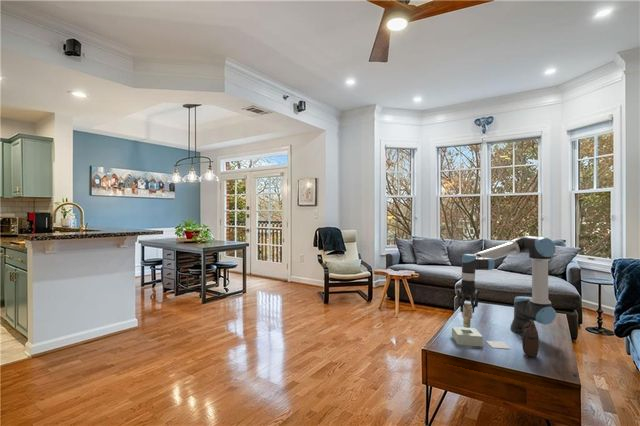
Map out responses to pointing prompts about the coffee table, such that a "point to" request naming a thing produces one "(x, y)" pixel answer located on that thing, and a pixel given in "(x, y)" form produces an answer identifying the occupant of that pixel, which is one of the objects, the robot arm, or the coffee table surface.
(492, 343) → the coaster
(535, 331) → the alarm clock
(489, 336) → the coffee table surface
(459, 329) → the socket block
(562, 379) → the coffee table surface
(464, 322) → the peg
